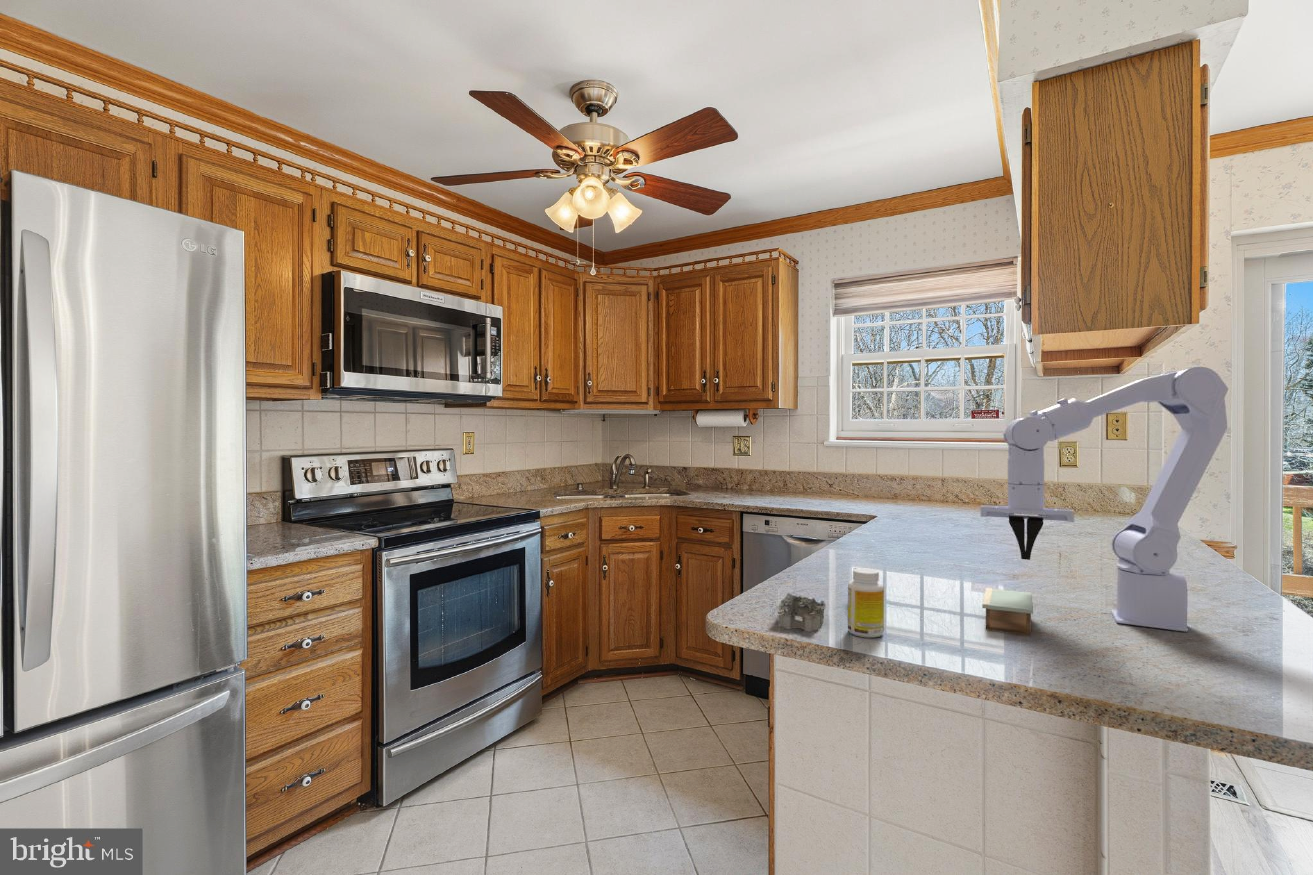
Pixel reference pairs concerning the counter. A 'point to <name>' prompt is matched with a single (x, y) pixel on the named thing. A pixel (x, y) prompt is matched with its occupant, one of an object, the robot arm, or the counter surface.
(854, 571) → the supplement bottle
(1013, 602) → the lid
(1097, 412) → the robot arm
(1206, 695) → the counter surface
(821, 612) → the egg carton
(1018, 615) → the box
